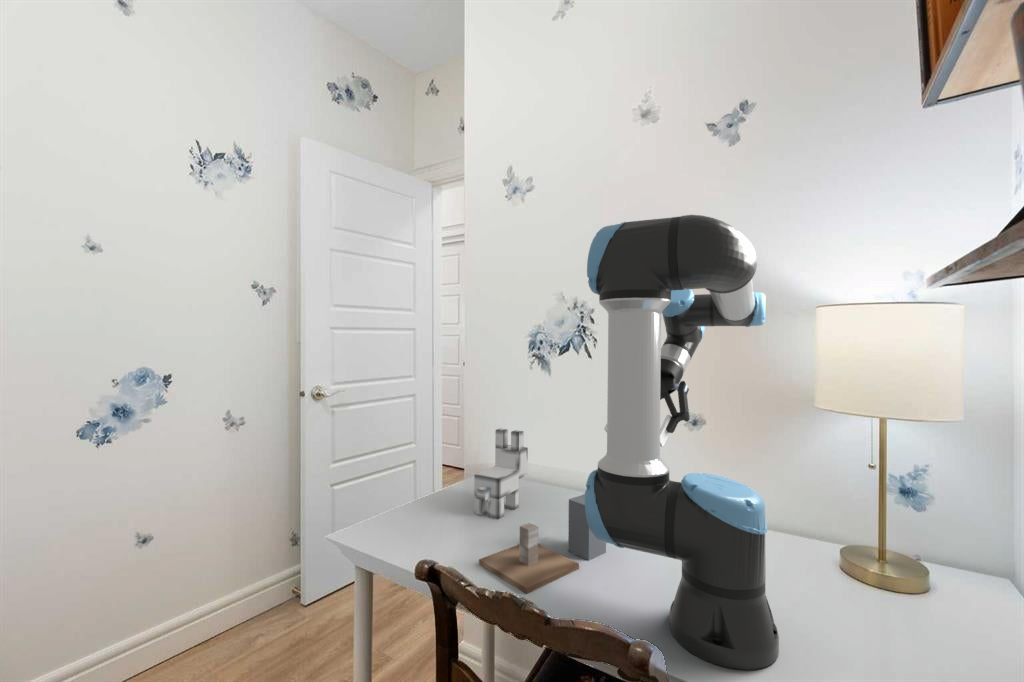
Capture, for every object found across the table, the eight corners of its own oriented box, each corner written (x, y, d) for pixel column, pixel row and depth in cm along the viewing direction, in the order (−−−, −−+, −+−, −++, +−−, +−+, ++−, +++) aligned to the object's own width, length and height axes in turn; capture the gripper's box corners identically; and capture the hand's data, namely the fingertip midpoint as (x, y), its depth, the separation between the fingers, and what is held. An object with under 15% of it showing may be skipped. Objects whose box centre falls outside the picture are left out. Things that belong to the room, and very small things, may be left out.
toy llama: (468, 516, 117) (469, 437, 117) (504, 496, 132) (504, 426, 132) (493, 522, 113) (493, 441, 113) (527, 501, 128) (527, 429, 128)
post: (578, 568, 91) (579, 528, 91) (526, 593, 82) (526, 548, 82) (530, 544, 101) (530, 508, 101) (479, 564, 92) (479, 524, 92)
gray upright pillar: (605, 552, 98) (606, 500, 98) (588, 560, 94) (589, 506, 94) (585, 543, 102) (585, 493, 102) (568, 550, 98) (568, 499, 98)
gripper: (724, 381, 105) (690, 458, 96) (632, 374, 124) (596, 437, 115) (713, 359, 102) (677, 436, 92) (620, 355, 121) (582, 419, 111)
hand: (632, 437), depth 103 cm, fingers open, 13 cm apart
